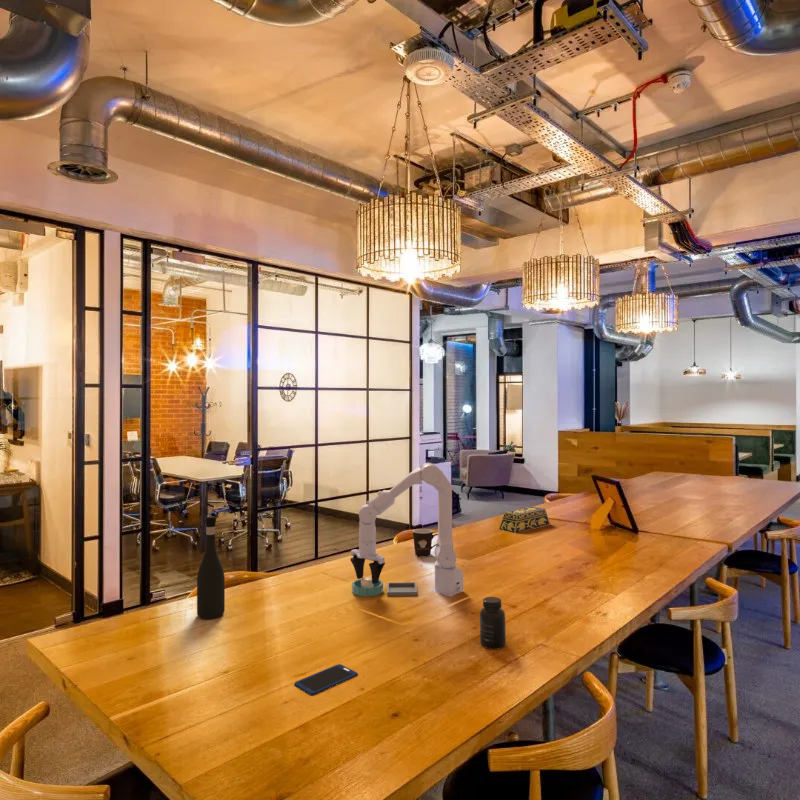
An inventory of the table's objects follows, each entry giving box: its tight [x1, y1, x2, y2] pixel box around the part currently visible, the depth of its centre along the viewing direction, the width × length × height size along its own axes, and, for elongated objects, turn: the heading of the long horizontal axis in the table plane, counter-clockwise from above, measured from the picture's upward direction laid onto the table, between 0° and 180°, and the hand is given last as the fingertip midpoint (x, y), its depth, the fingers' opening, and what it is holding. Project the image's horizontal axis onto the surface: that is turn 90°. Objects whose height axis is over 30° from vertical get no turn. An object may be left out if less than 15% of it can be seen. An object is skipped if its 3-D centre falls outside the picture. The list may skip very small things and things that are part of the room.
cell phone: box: [293, 663, 359, 696], centre depth 134 cm, size 7×14×1 cm, turn 135°
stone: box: [360, 577, 374, 588], centre depth 194 cm, size 4×4×4 cm
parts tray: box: [386, 581, 418, 597], centre depth 195 cm, size 10×10×2 cm
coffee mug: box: [412, 528, 438, 557], centre depth 241 cm, size 12×9×10 cm
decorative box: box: [498, 506, 551, 534], centre depth 294 cm, size 11×30×9 cm, turn 131°
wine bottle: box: [196, 515, 226, 620], centre depth 174 cm, size 8×8×30 cm
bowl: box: [351, 578, 384, 598], centre depth 194 cm, size 10×10×3 cm
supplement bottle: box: [479, 596, 507, 650], centre depth 153 cm, size 7×7×12 cm
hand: (367, 580), depth 194 cm, fingers open, 7 cm apart
